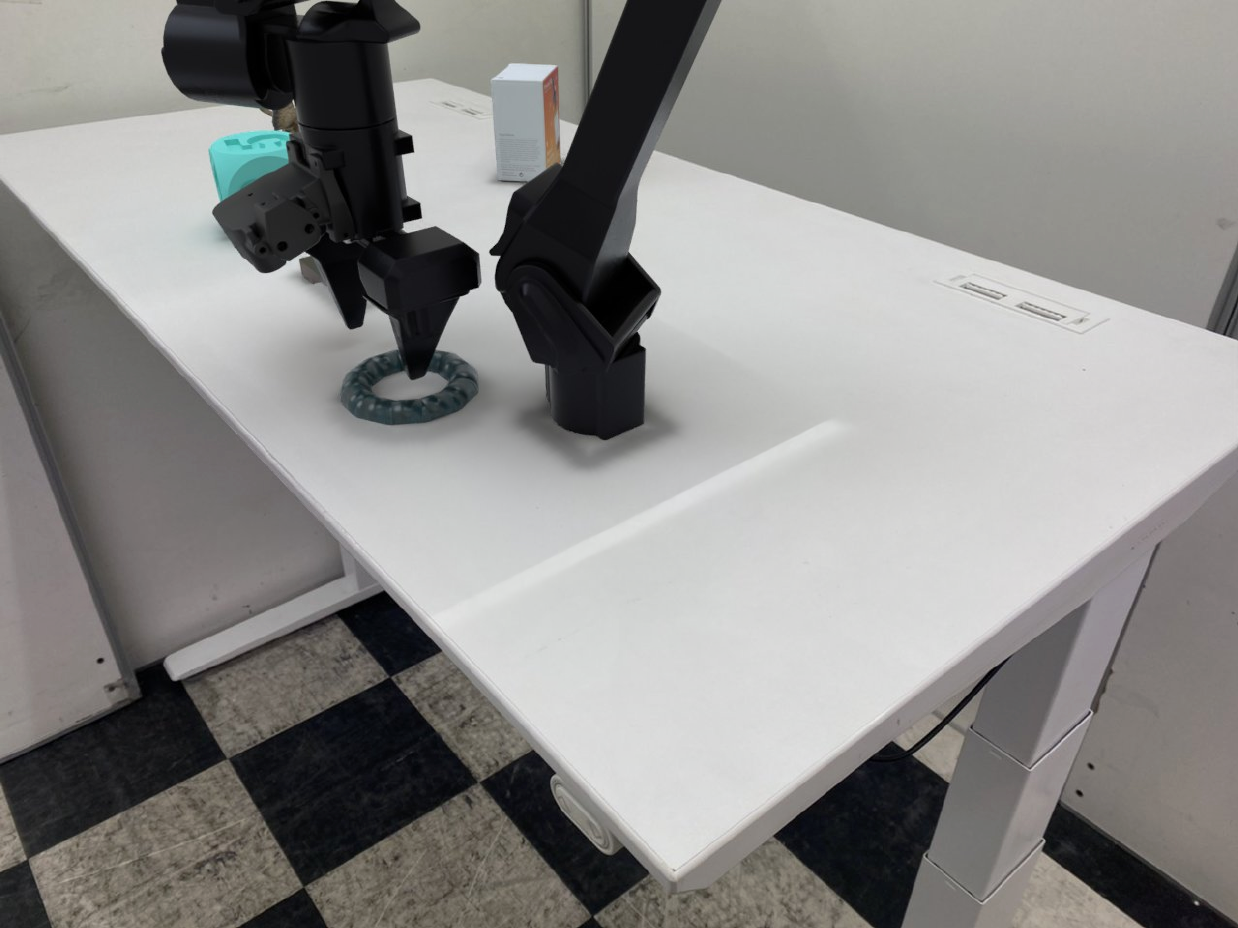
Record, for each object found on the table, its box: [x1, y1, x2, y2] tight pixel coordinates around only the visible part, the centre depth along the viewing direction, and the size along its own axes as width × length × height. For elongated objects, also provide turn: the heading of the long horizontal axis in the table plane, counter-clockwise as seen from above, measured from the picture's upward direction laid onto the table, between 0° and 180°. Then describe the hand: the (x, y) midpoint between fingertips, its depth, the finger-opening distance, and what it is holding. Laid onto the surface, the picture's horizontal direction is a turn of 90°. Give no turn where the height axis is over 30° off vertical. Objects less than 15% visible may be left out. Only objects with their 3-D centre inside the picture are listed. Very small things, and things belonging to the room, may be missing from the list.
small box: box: [490, 62, 562, 183], centre depth 100 cm, size 8×6×10 cm
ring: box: [339, 348, 479, 426], centre depth 62 cm, size 9×9×2 cm
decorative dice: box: [207, 130, 291, 203], centre depth 87 cm, size 8×8×8 cm
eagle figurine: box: [259, 100, 299, 133], centre depth 108 cm, size 8×7×9 cm
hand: (384, 351), depth 64 cm, fingers open, 9 cm apart
